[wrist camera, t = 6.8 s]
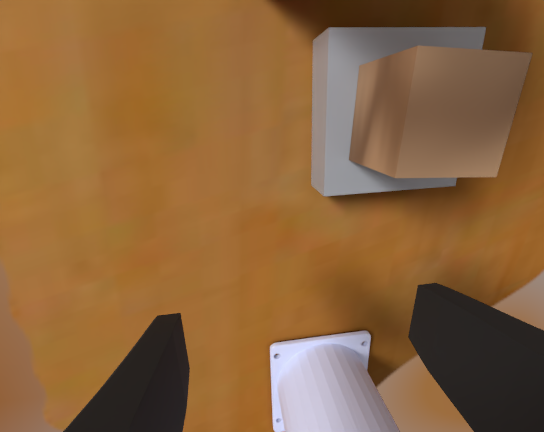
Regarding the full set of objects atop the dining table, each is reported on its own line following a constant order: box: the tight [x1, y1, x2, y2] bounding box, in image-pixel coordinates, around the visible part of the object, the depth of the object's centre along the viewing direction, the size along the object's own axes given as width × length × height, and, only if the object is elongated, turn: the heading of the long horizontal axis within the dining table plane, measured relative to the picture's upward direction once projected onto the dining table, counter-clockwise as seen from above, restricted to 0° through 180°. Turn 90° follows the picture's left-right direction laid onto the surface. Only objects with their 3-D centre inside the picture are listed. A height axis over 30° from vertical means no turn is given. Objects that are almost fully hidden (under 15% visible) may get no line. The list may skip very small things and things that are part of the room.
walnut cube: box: [349, 46, 532, 178], centre depth 13 cm, size 4×4×4 cm
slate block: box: [311, 27, 486, 196], centre depth 16 cm, size 8×8×3 cm
